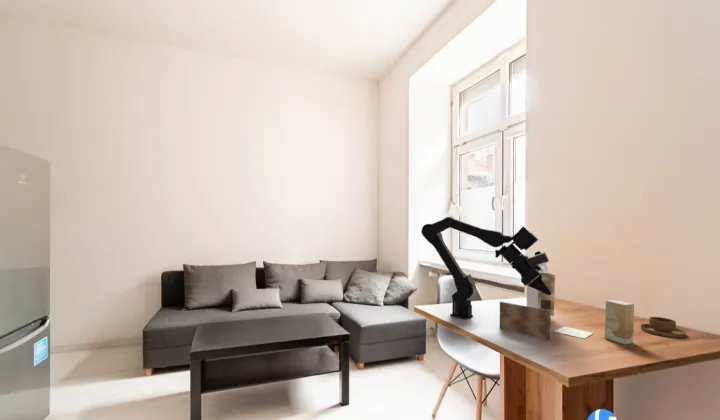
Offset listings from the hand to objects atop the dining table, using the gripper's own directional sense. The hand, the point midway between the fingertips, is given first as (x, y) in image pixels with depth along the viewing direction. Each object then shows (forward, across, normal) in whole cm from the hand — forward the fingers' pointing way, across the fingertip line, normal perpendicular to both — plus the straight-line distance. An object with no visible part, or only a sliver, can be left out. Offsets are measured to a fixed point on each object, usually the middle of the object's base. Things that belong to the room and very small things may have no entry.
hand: (550, 293), depth 123 cm
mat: (+14, 0, +4) cm, 14 cm away
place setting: (+30, +19, -12) cm, 38 cm away
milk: (+6, +17, +12) cm, 22 cm away
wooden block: (+4, 0, +6) cm, 7 cm away
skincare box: (+22, -2, -5) cm, 23 cm away
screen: (+3, -11, +14) cm, 18 cm away
